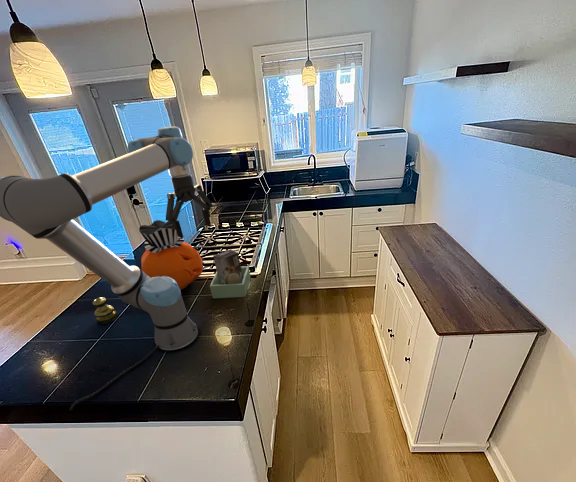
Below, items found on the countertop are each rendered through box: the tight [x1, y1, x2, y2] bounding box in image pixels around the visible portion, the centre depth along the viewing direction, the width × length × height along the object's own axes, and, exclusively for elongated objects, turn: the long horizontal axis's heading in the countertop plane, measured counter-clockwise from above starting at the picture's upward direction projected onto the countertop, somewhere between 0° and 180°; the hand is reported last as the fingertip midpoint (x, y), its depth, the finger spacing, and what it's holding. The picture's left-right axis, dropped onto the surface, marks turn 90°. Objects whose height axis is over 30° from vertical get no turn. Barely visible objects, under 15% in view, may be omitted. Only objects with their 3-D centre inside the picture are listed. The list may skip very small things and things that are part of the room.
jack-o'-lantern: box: [138, 219, 204, 291], centre depth 142 cm, size 27×26×30 cm
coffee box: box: [212, 248, 243, 285], centre depth 139 cm, size 9×6×16 cm
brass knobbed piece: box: [92, 297, 118, 325], centre depth 127 cm, size 7×7×10 cm
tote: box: [209, 265, 252, 299], centre depth 142 cm, size 17×15×6 cm
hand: (195, 231), depth 126 cm, fingers open, 13 cm apart
